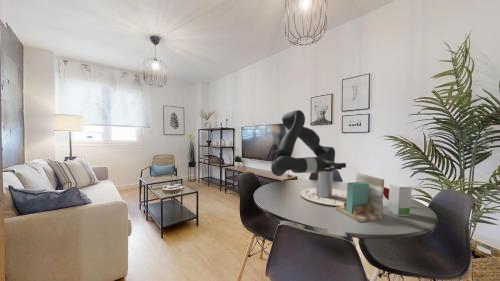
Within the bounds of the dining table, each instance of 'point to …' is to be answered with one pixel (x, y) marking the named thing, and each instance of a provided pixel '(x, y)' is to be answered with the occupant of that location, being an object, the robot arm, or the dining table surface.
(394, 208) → the skincare box
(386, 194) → the white red flat box
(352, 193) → the book
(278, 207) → the dining table surface
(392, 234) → the dining table surface
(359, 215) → the book rack
